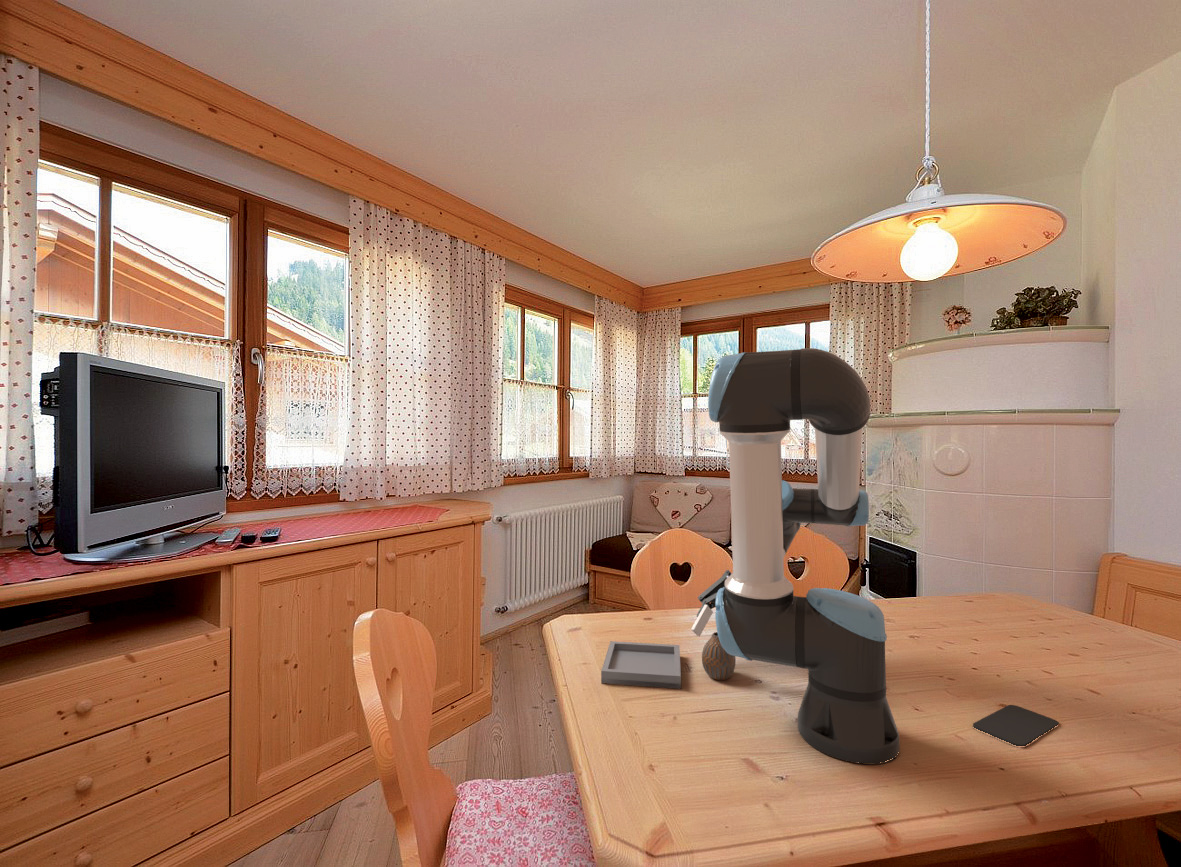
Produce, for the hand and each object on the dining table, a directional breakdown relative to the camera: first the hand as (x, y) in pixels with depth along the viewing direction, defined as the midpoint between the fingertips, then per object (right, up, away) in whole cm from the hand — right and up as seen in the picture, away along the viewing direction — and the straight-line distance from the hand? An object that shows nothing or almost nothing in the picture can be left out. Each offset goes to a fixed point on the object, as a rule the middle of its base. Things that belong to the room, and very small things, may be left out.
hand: (719, 642), depth 109 cm
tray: (-16, -7, +3) cm, 18 cm away
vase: (0, -7, -1) cm, 7 cm away
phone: (+46, -7, -20) cm, 51 cm away
